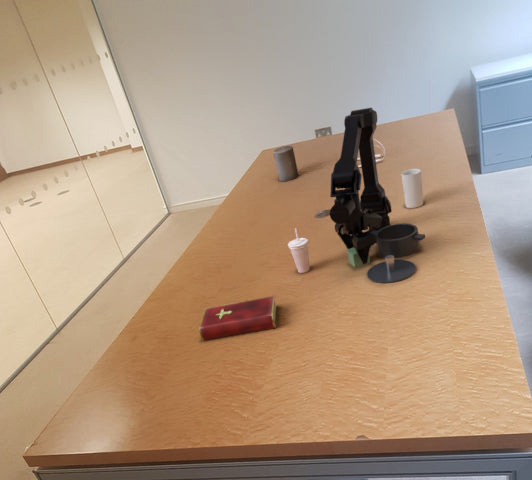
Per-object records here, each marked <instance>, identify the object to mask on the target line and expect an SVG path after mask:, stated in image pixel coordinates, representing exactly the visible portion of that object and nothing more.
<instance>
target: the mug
mask: <svg viewBox="0 0 532 480" xmlns="http://www.w3.org/2000/svg"><path fill="white" fill-rule="evenodd" d="M400 174H401V182H402V189H403V197H404V198H403V199H404V204H405V205H404V206H405V207H406V208H408V209H415V208H419V207H421V206H423V205H424V189H423V180H422V179H423V176H422V170H421V169H420V168H410V169H406V170H404V171H402V172H401V173H400Z"/></svg>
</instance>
